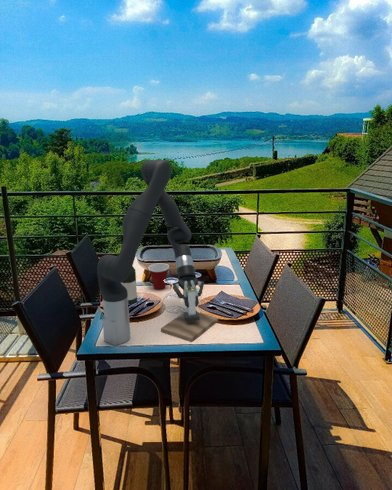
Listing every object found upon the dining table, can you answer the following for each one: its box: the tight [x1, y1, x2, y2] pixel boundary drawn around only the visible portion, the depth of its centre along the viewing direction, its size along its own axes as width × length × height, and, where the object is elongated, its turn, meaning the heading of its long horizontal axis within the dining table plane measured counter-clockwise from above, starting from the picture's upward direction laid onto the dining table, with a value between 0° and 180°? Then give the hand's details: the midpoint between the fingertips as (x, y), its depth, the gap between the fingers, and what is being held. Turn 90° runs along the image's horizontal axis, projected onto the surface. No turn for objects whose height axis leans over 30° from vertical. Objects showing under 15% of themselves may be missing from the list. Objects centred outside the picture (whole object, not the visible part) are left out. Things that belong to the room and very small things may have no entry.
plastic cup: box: [147, 262, 170, 291], centre depth 189 cm, size 11×11×12 cm
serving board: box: [160, 310, 219, 343], centre depth 149 cm, size 20×15×2 cm
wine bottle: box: [121, 242, 138, 305], centre depth 167 cm, size 8×8×30 cm
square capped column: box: [182, 286, 200, 322], centre depth 148 cm, size 6×6×13 cm
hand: (192, 306), depth 146 cm, fingers closed on square capped column, 3 cm apart
